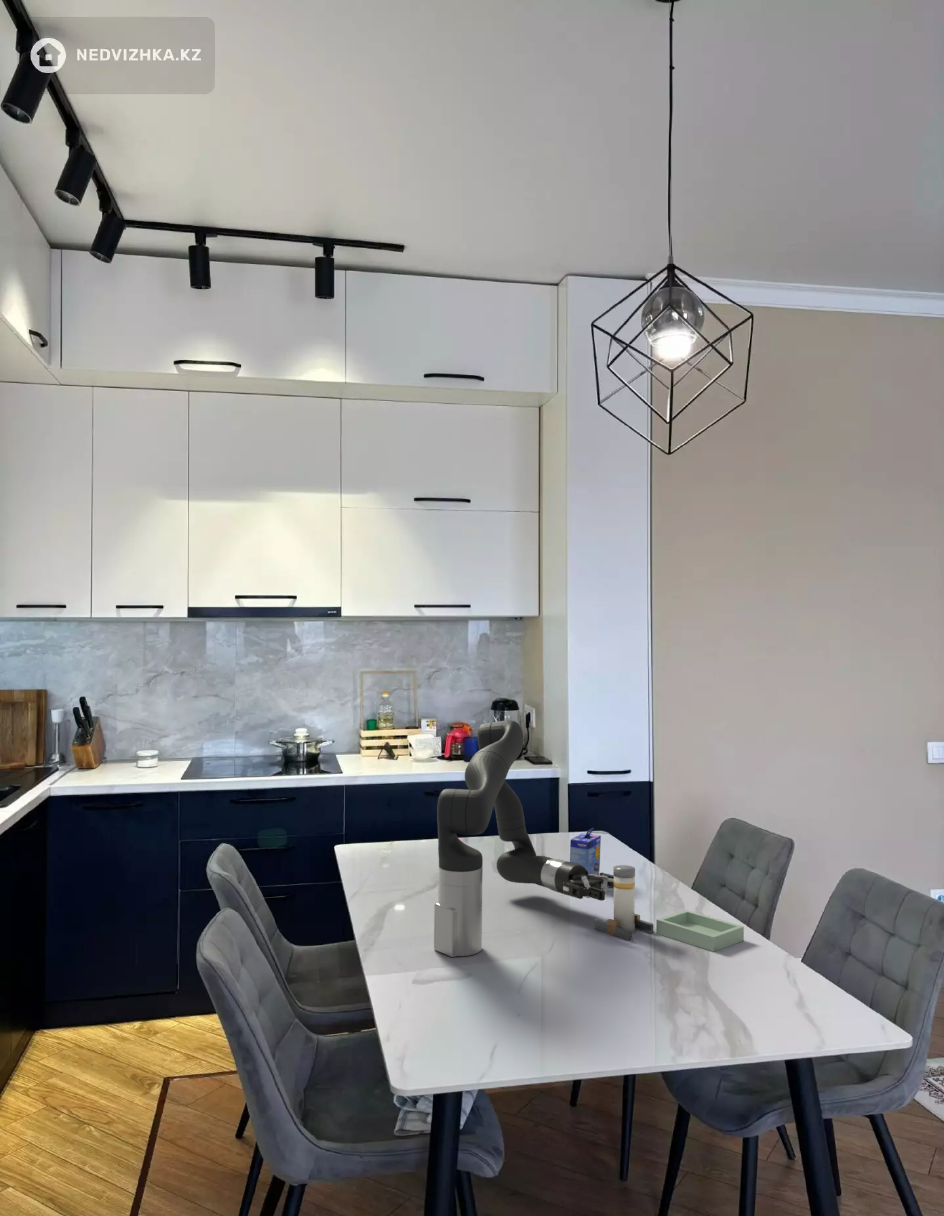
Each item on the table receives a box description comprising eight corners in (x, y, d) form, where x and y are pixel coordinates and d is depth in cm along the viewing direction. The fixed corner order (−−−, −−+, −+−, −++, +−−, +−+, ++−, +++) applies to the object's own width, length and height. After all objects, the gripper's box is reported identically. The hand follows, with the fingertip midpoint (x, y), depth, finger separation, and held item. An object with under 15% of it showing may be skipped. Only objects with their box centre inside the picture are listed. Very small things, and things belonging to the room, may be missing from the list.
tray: (713, 951, 191) (713, 937, 191) (656, 933, 202) (656, 919, 203) (743, 940, 198) (743, 926, 198) (686, 923, 210) (686, 910, 210)
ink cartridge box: (588, 889, 237) (588, 833, 237) (568, 886, 239) (568, 830, 240) (601, 880, 245) (601, 826, 246) (581, 877, 248) (582, 823, 248)
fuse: (625, 936, 200) (625, 872, 201) (608, 930, 204) (608, 867, 204) (639, 931, 203) (639, 868, 204) (622, 926, 207) (623, 864, 207)
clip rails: (629, 941, 197) (629, 927, 197) (594, 929, 205) (594, 915, 205) (653, 933, 203) (653, 919, 203) (618, 921, 210) (618, 908, 210)
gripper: (543, 866, 213) (595, 881, 201) (584, 857, 223) (637, 870, 210) (543, 898, 213) (595, 915, 201) (584, 887, 223) (636, 903, 210)
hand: (616, 892), depth 206 cm, fingers open, 8 cm apart
